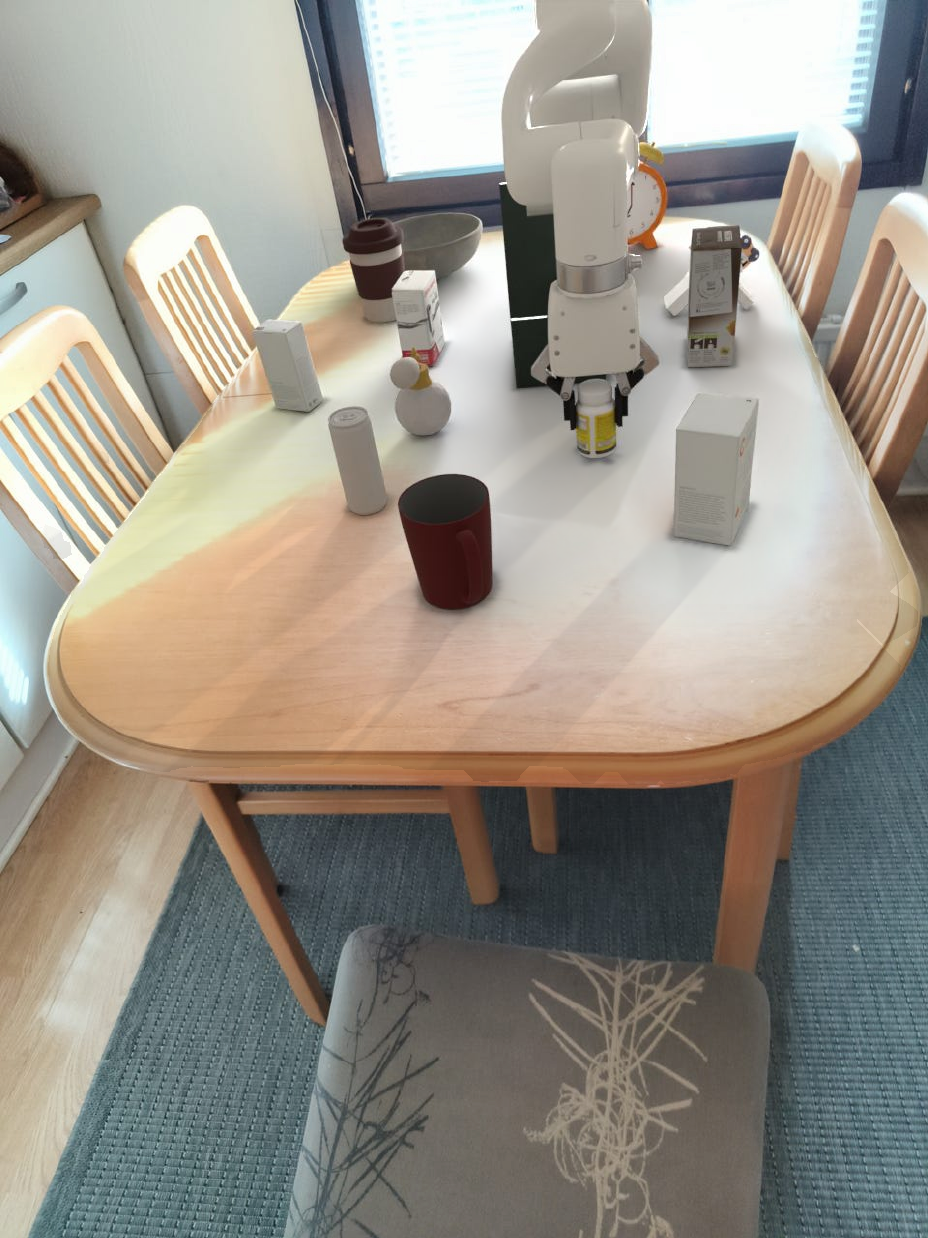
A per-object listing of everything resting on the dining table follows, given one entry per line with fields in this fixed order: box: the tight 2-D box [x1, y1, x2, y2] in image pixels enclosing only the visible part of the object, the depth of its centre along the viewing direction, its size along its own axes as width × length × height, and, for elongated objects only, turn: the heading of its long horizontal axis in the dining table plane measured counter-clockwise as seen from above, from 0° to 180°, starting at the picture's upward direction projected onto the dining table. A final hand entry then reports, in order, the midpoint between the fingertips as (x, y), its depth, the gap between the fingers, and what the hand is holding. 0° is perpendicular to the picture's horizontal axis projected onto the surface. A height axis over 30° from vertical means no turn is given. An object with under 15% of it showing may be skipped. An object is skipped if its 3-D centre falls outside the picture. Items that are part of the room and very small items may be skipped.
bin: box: [510, 315, 607, 389], centre depth 127 cm, size 16×13×10 cm
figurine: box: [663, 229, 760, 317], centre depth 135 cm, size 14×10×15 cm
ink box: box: [392, 270, 446, 367], centre depth 134 cm, size 9×5×12 cm, turn 168°
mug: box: [397, 473, 494, 610], centre depth 88 cm, size 12×9×11 cm
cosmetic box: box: [251, 318, 324, 413], centre depth 126 cm, size 6×4×12 cm
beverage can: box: [327, 405, 388, 516], centre depth 103 cm, size 5×5×12 cm
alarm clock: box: [627, 133, 669, 250], centre depth 156 cm, size 13×6×20 cm, turn 103°
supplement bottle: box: [575, 379, 617, 459], centre depth 106 cm, size 5×5×8 cm
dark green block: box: [498, 182, 557, 319], centre depth 112 cm, size 16×13×5 cm
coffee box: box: [686, 224, 742, 368], centre depth 121 cm, size 9×6×16 cm
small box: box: [672, 391, 760, 547], centre depth 92 cm, size 8×6×13 cm
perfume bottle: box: [389, 347, 452, 436], centre depth 114 cm, size 8×10×12 cm
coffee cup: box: [341, 217, 405, 324], centre depth 147 cm, size 10×10×15 cm
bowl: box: [392, 212, 484, 280], centre depth 162 cm, size 21×21×8 cm
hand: (595, 421), depth 106 cm, fingers closed on supplement bottle, 4 cm apart
